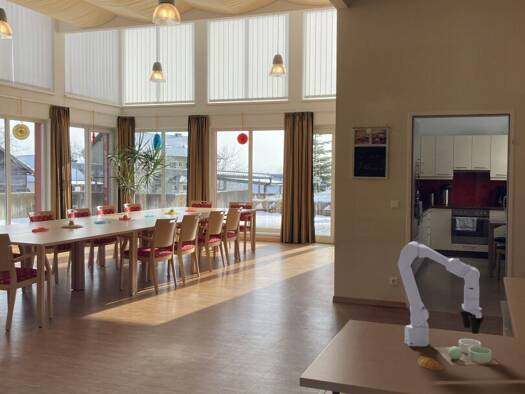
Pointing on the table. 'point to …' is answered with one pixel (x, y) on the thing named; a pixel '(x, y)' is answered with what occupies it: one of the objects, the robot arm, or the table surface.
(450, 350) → the ball
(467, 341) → the cup grey
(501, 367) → the table surface
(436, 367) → the pastry
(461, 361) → the board
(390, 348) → the table surface
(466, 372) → the table surface
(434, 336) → the table surface
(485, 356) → the cup green
